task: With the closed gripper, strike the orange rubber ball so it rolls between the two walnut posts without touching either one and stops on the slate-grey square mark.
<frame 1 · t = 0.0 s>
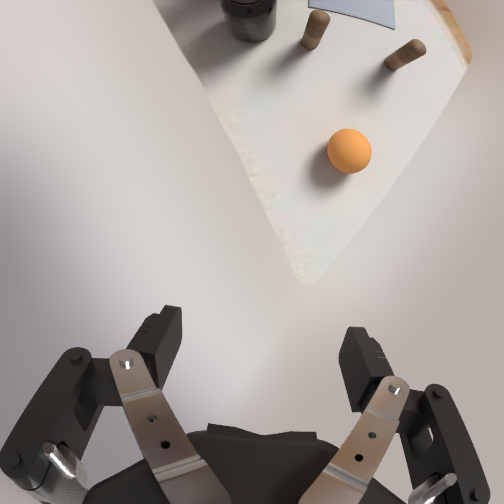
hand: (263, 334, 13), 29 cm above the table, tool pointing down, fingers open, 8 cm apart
ball: (349, 150, 34), on the table
post 2: (391, 63, 31), on the table
supplement bottle: (252, 25, 31), on the table
post 1: (309, 42, 31), on the table
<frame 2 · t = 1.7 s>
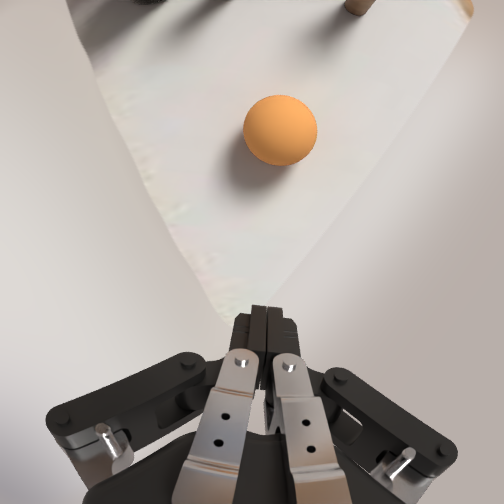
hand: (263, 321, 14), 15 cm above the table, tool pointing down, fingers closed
ball: (280, 130, 21), on the table
post 2: (355, 7, 19), on the table
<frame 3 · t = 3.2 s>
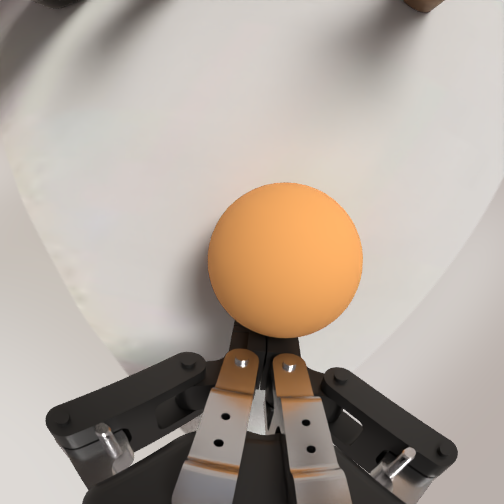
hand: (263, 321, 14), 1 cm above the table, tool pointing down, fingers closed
ball: (285, 260, 11), on the table, touching gripper
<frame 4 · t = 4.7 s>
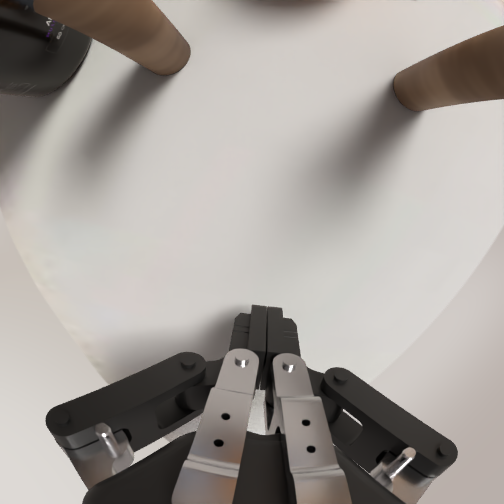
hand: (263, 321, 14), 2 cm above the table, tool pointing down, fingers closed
post 2: (412, 90, 11), on the table
supplement bottle: (58, 50, 11), on the table
post 1: (168, 55, 11), on the table
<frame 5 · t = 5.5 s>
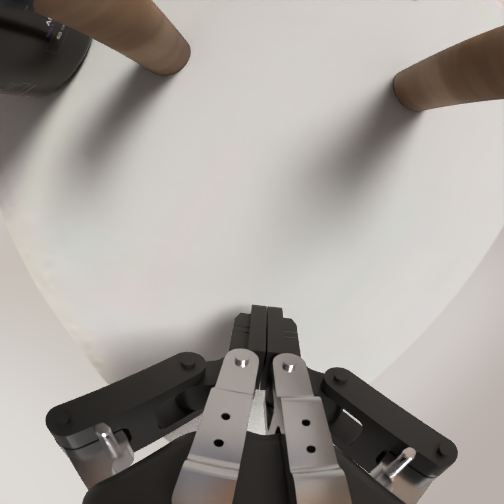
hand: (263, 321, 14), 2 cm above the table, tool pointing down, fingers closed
post 2: (412, 90, 11), on the table
supplement bottle: (58, 50, 11), on the table
post 1: (168, 55, 11), on the table
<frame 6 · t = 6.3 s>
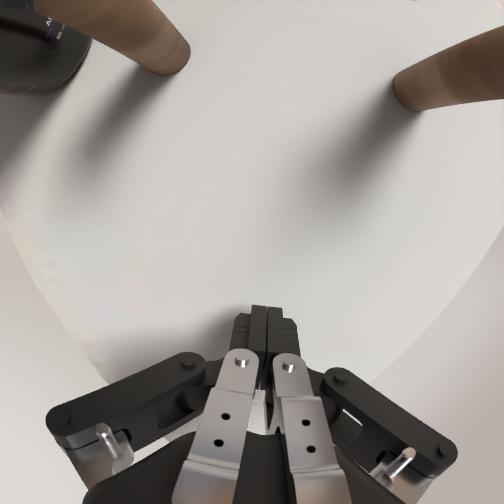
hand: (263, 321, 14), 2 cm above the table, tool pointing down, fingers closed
post 2: (412, 90, 11), on the table
supplement bottle: (58, 50, 11), on the table
post 1: (168, 55, 11), on the table
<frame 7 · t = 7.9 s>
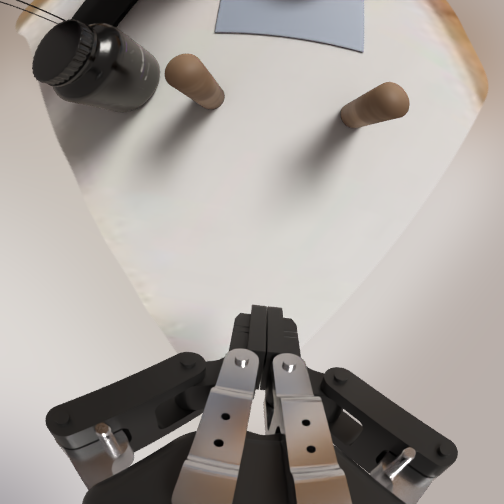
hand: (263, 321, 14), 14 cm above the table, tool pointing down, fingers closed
post 2: (353, 115, 22), on the table
supplement bottle: (131, 81, 22), on the table
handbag: (103, 12, 19), on the table
post 1: (211, 97, 22), on the table
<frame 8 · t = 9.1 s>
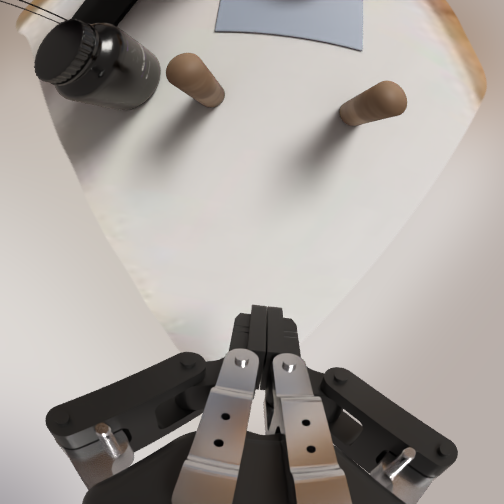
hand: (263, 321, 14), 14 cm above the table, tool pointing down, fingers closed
post 2: (351, 113, 22), on the table
supplement bottle: (132, 79, 22), on the table
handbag: (103, 11, 19), on the table
post 1: (211, 95, 23), on the table
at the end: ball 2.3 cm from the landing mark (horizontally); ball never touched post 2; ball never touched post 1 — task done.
